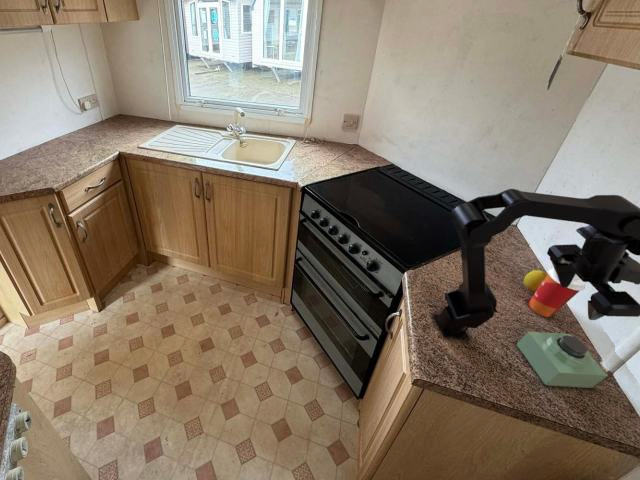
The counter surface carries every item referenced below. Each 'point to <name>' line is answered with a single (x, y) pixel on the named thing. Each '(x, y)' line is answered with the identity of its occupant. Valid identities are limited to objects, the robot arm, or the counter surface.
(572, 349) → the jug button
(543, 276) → the lemon
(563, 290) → the paper cup
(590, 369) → the green flat block
